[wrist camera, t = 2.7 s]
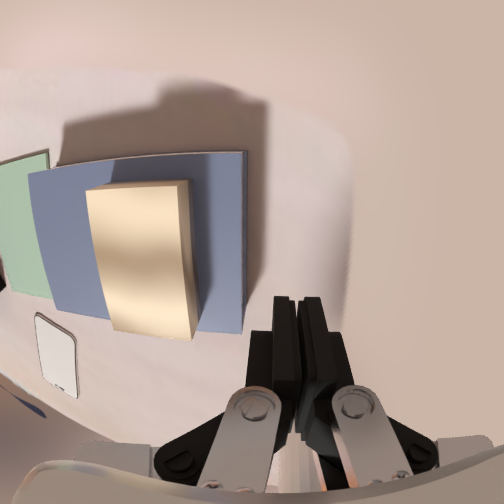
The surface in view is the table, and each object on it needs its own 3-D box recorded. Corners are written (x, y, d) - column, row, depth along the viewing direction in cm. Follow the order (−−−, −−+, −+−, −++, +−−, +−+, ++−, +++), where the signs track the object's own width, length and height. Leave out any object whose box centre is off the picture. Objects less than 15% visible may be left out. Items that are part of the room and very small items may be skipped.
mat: (74, 301, 27) (72, 303, 26) (14, 289, 27) (12, 290, 27) (48, 152, 20) (45, 153, 20) (-11, 169, 21) (-13, 169, 21)
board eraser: (201, 315, 21) (191, 340, 18) (130, 308, 21) (113, 330, 18) (192, 178, 17) (176, 186, 14) (110, 182, 17) (85, 190, 15)
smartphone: (75, 339, 28) (78, 401, 34) (80, 333, 30) (81, 396, 35) (33, 312, 28) (42, 378, 33) (38, 307, 29) (46, 374, 34)
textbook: (246, 306, 25) (241, 334, 21) (77, 290, 26) (57, 309, 22) (247, 150, 20) (241, 153, 16) (55, 166, 21) (27, 173, 17)
